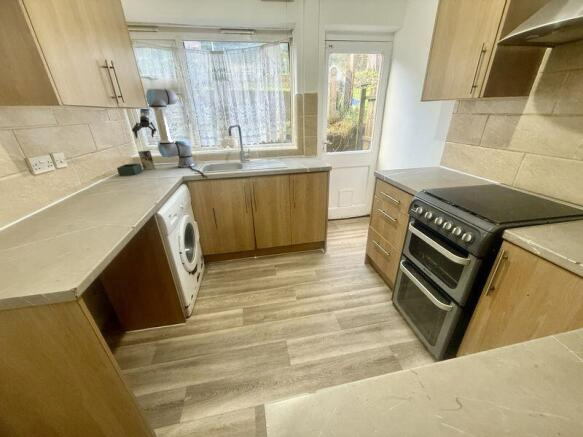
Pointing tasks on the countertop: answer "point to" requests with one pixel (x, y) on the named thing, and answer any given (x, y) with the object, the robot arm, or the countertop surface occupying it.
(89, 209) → the countertop surface
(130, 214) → the countertop surface
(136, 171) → the tote
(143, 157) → the coffee box
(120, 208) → the countertop surface
